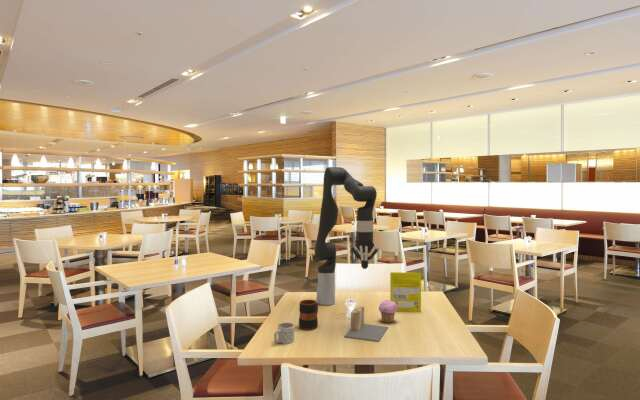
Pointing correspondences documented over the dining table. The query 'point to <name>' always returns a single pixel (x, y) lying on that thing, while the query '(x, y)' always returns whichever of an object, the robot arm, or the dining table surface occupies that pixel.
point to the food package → (406, 291)
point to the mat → (367, 332)
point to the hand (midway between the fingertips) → (364, 268)
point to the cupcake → (388, 310)
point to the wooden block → (357, 318)
